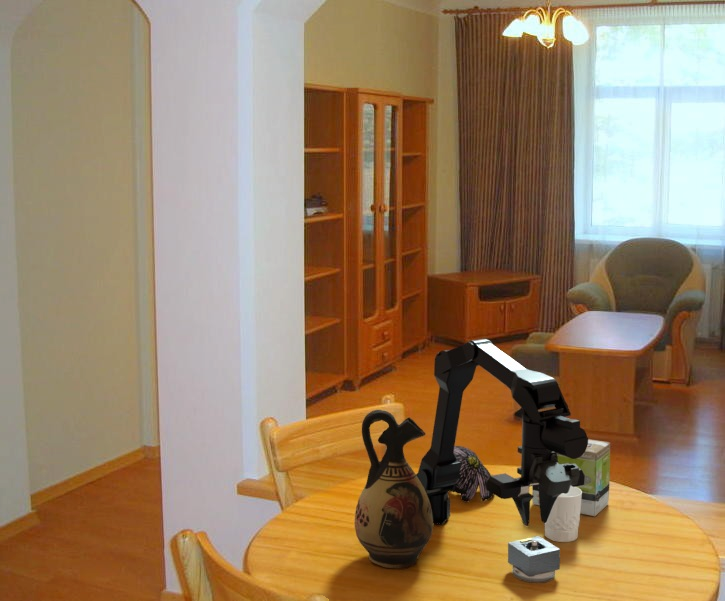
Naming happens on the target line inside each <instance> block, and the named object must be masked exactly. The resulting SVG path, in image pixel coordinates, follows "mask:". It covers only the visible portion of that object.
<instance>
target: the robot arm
mask: <svg viewBox="0 0 725 601" xmlns="http://www.w3.org/2000/svg"><path fill="white" fill-rule="evenodd" d="M478 366H479V367H481V369H483V370H485V371H486V372H487V373H488V374H490V375H491V376H492V377H494V379H497V380H498V381H499V382H500V383H502V384H503V385H504V386H505V387H507V388H508V389H509V390H510V392H511V398H512V399H513V400H514V401H515V402H516V403H517V404H518V405H519V407H520V408H519V409H518V410H516V411H515V412H514V417H516V418H520V419H522V420H521V422H522V423H521V424H522V426H521V446H518V447H517V453H519V454H520V455H521V459H520V460H521V462H520V464H521V465H520V466H519V467H517V468H516V470H517V471H516V473H517V474H518V475H520V476H519V477H513V476H511V475H509V474H508V473H506V472H504V473H498V474H491V476H490V477H489V478H488V479H487V483H486V490H488V491H489V492H491V493H493V496H496V497H498V498H499V499H503V500H507V499H512V500H513V503H514V504H515V506H516V507H515V508H516V509H517V511H518V514H519V515H520V516H519V517H520V519H521V521H522V523H523V525H524V526H525V527H528V526H529V525H530V519H531V518H530V516H531V515H530V514H531V513H530V512H531V501H532V498H533V497H534V496H533V495H532V493H530V487H532V486H535V485H538V489H539V505H538V506H539V514H540V515H539V516H540V521H541V522H542V523H543V524H545V523H546V522H547V519H548V517H549V514H550V512H551V510H552V507H553V505H554V503H555V501H556V499H557V497H558V496H559V495H561V494H562V493H564V494H566V493H568V492H569V489H570V486H572V487H576V486H582V485H585V474H584V472H583V470H581V469H579V467H578V466H577V465H576V464H575V463H574V464H569V463H565V464H559V463H558V456H557V453H558V454H561V455H564V456H566V457H569V458H571V459H577V458H579V457H580V456H582V455H583V453H584V452H585V450H586V448H587V445H588V439H589V437H588V434H587V432H586V431H585V429H583V428H582V427H581V421H580V420H578V419H576V418H575V419H574V418H568V417H571V415H572V414H571V411H570V409H569V405H568V403H567V402H566V399H565V396H564V395H563V392H562V390H561V389H560V384H559V383H558V381H557V380H556V379H555V378H554V377H552V376H550V375H548V374H545V373H543V372H539V371H536V370H535V371H534V370H531V369H528V368H525V367H524V366H523V365H521V363H519V362H517V361H516V360H515V359H513V358H512V357H511V356H509V355H508V354H506V353H505V352H503V351H502V350H500V349H499V348H498V347H497V346H495V345H494V344H493V342H492V341H491V340H489V339H487V338H481V339H473V340H469V341H467V342H465V343H464V344H462V345H460V346H455V347H454V348H452V349H445V350H441V351H439V352H437V353H436V354H435V356H434V369H433V371H434V372H433V376H434V378H435V380H436V382H437V385H438V386H439V390H438V394H437V395H438V397H437V403H436V408H435V417H434V422H433V423H434V424H433V429H432V430H433V431H432V435H431V436H432V437H431V442H430V448H429V449H428V451H426V453H425V454H424V455H423V457H422V458H421V461H420V465H419V466H418V471H417V473H415V474H416V476H417V477H418V479H419V481H420V482H421V484H422V486H423V487H424V489H425V491H426V494H427V496H428V499H429V502H430V505H431V509H432V515H433V525H444V524H445V523H446V521H447V520H448V519H449V517H450V516H451V497H449V492H453V491H454V489H455V486H456V483H457V480H458V479H460V469H461V466H462V465H461V462H459V461H458V460H457V458H456V456H455V454H454V446H456V440H457V439H456V438H457V432H458V427H459V420H460V414H461V408H462V402H463V395H464V394H463V393H464V392H465V390H466V388H467V387H468V386H469V385H470V384H471V382H472V381H473V379H474V376H475V373H476V369H477V367H478ZM554 407H555V408H554ZM545 409H546V410H545Z"/></svg>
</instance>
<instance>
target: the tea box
mask: <svg viewBox="0 0 725 601" xmlns="http://www.w3.org/2000/svg"><path fill="white" fill-rule="evenodd" d="M557 456H558V463H559V464H565V463H569V464H574V463H575V464H576V465H577V466H578V467H579V469H581V470H583V472H584V474H585V485H582V486H576V487H578V488H579V489H581V491H582V499H581V512H580V515H581V514H582V515H587V516H591V517H596V516H597V515H598V514H599V513H600V512H602V511H603V509H604V508H606V507H607V506H608V505H609V500H610V499H609V498H610V477H611V473H610V472H611V471H610V469H611V468H610V467H611V442H609V441H603V440H596V439H591V438H588V445H587V448H586V450H585V452H584V453H583V455H582V456H580V457H579V458H577V459H571V458H569V457H566V456H564V455H561V454H558V453H557ZM531 487H532V488H531V489H532V490H531V491H532V492H531V495H533V496H534V497H533V498H532V499H531V501H532V505H535V506H540V505H539V489H538V485H535V486H531Z"/></svg>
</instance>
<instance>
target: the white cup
mask: <svg viewBox="0 0 725 601" xmlns="http://www.w3.org/2000/svg"><path fill="white" fill-rule="evenodd" d="M581 499H582V491H581V489H579V488H578V487H572V486H570V489H569V492H568V493H566V494H564V493H562V494H561V495H559V496H558V497H557V499H556V501H555V503H554V505H553V507H552V510H551V512H550V514H549V517H548V519H547V522H546V523H544V536H545V537H546V538H547V539H548V540H551V541H554V542H560V543H569V542H574V541H576V540H577V539H578V534H579V526H580V519H581V513H580V512H581Z"/></svg>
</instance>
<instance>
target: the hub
mask: <svg viewBox="0 0 725 601" xmlns="http://www.w3.org/2000/svg"><path fill="white" fill-rule="evenodd" d="M535 550H539V549H538V548H537V541H536V540H532V547H531V548H530V551H535ZM511 572H512V575H513V577H514V578H516V579H517V580H520V581H523V582H526V583H531V584H532V583H533V584H542V583H543V584H544V583H547V582H550V581H553V580H554V579H555V577H556V570H555V571H551V572H547V573H542V574H538V575H534V576H530V577H528V576H527V575H525V574H524V573H523V572H521V571H520V570H518V569H517V568H515V567H514V566H513V565H512V571H511Z"/></svg>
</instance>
